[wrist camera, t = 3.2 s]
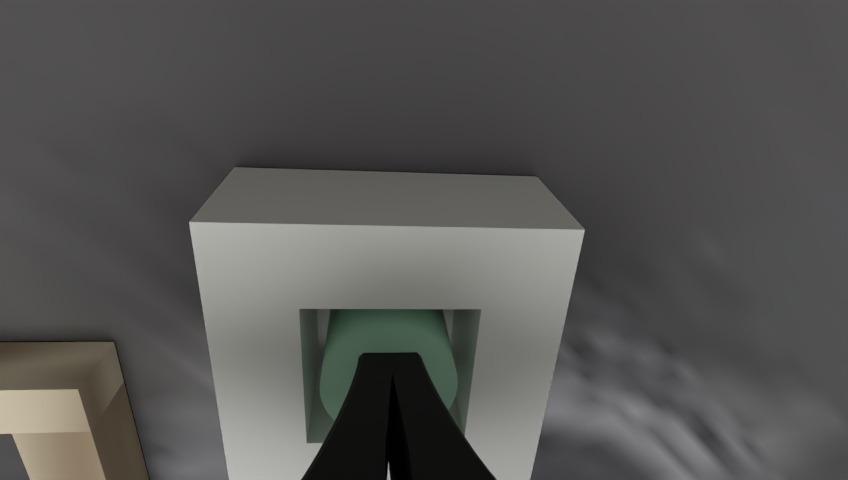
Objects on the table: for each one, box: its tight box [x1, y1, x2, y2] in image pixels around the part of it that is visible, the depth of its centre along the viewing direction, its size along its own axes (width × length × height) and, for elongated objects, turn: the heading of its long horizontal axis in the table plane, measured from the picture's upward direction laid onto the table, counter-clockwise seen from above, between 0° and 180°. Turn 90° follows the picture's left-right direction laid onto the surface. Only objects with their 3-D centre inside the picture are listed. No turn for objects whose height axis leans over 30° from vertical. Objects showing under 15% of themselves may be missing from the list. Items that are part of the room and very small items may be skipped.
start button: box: [319, 309, 458, 420], centre depth 13 cm, size 3×3×3 cm
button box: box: [189, 167, 585, 480], centre depth 13 cm, size 8×8×4 cm
